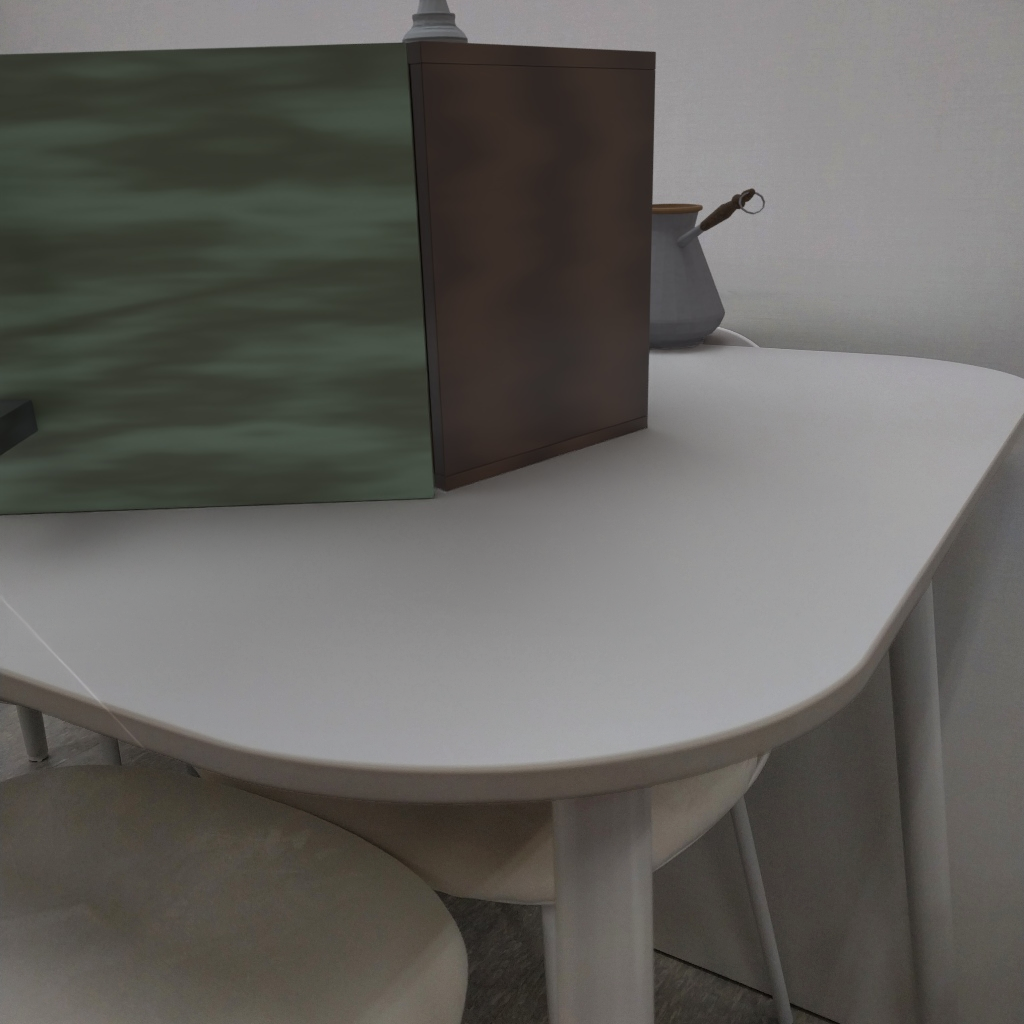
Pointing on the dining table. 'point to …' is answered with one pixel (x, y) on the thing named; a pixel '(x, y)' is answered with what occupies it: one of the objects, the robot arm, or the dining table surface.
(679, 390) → the dining table surface
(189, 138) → the cabinet door
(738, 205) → the coffee pot
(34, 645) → the dining table surface
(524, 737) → the dining table surface
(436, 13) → the chess piece
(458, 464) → the cabinet
